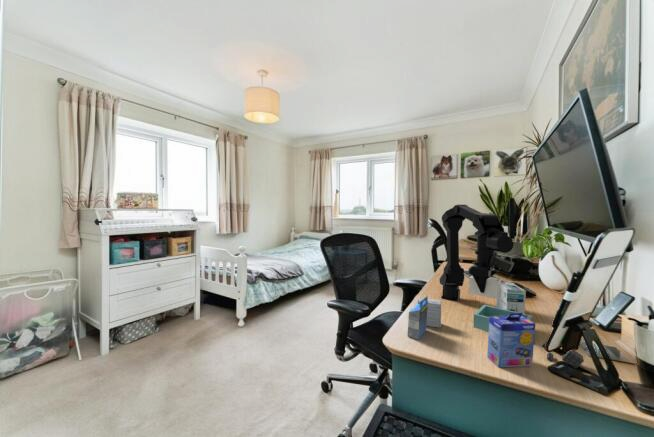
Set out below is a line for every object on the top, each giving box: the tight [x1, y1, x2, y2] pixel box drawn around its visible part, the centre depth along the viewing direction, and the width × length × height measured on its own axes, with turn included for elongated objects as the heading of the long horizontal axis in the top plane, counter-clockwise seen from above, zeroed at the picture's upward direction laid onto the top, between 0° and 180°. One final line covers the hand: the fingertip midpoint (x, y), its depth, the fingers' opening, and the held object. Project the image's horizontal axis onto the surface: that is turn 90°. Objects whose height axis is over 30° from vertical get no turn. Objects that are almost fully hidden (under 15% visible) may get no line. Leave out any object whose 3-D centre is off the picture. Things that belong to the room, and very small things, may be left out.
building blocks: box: [541, 342, 585, 368], centre depth 76 cm, size 3×6×8 cm
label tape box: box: [407, 295, 429, 340], centre depth 92 cm, size 9×4×12 cm, turn 145°
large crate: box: [473, 304, 533, 333], centre depth 96 cm, size 15×13×5 cm
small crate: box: [468, 275, 502, 300], centre depth 101 cm, size 9×6×6 cm, turn 46°
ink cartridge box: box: [487, 313, 536, 368], centre depth 75 cm, size 10×6×14 cm, turn 95°
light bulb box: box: [495, 281, 527, 314], centre depth 111 cm, size 11×7×11 cm, turn 168°
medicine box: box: [417, 297, 442, 328], centre depth 99 cm, size 8×4×9 cm, turn 71°
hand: (484, 290), depth 101 cm, fingers closed on small crate, 6 cm apart
